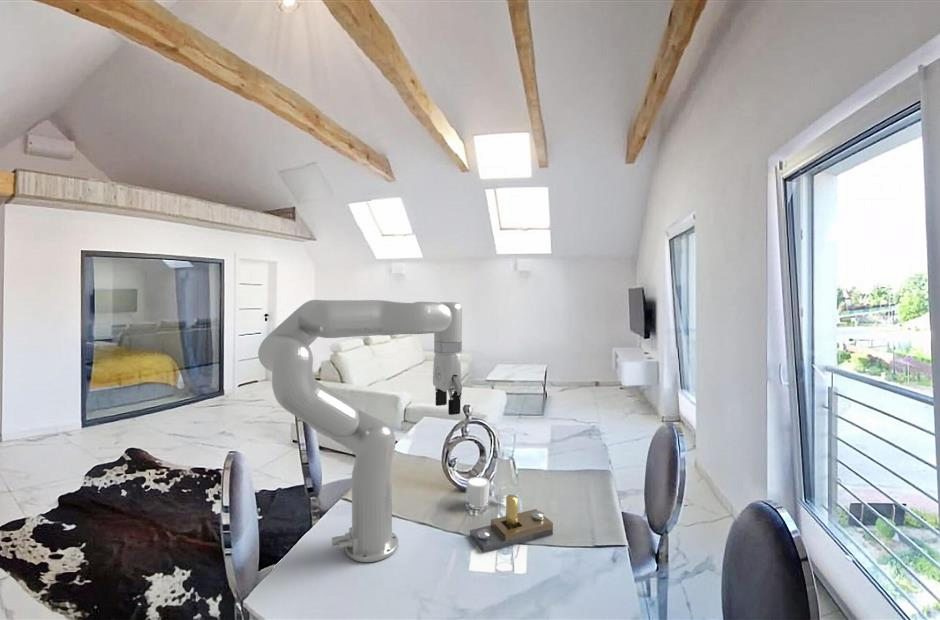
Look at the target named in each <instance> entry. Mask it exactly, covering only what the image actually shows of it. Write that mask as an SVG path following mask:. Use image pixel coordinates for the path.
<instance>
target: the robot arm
mask: <svg viewBox="0 0 940 620" xmlns="http://www.w3.org/2000/svg"><path fill="white" fill-rule="evenodd" d="M462 332H463V307H462V305H461V303H459V302H454V301H453V302H451V301H442V302H436V301H435V302H434V301H414V302H400V301H398V302H396V301H390V300H381V299H380V300H378V299H367V300H366V299H364V300H363V299H360V300H359V299H358V300H355V299H354V300H348V299H347V300H346V299H345V300H338V299H337V300H336V299H335V300H334V299H333V300H332V299H330V300H329V299H327V300H326V299H312V300H308V301H306V302H304V303H303V304H302V305H300V306H299V307H297V309H296V310H294V311H293V312H292V313H291V314H290V315H289V316H288V317H287V318H286V319H285V320H283V321H282V322H281V323H280V324H279V325H277V327H275V328H274V329H273V330H272V331H271V332H270V333H269V334H268V335H267V336H266V337H265V338H264V339H263V340H262V342H261V343H260V345H259V347H258V353H257V355H258V356H257V357H258V360H259V362H260V364H261V365H262V366H263V367H264V368H265V369H266V370H268V371H270V372H272V373H271V375H272V376H271V387H272V391H273V395H274V397H275V399H276V401H277V403H278V404H279V405H280V407H282V408H283V409H284V410H286V411H287V412H288V413H290V414H291V415H293V416H295V418H297V419H299V420H301V421H303V422H304V423H305V424H307V425H308V426H309V427H310V428H312V429H313V430H315V431H316V432H317V433H318V434H321V435H323V436H325V437H327V438H329V439H331V440H332V441H334V442H336V443H337V444H340V445H341V446H343V447H345V448H346V449H348V450H349V451H351V452H352V453H353V454H354V455H355V461H354V465H353V468H352V470H351V471H352V473H351V527H349V528H348V532H345V533H344V534H343V535H336V536H332V537H331V546H332V547H335V546H338V550H343V549H345V553H346V556H347V557H348V558H350V559H352V560H353V561H357V562H361V563H373V562H378V561H382V560H384V559H387V558H389V557H390V556H392V555H393V554H394V553H396V551H397V549H398V546H399V538H398V535H396V534H395V533H394V532H392V531H393V482H392V480H393V460H394V455H395V449H396V435H395V433H394V430H393V429H392V428H391V426H390V425H388V424H387V423H386V422H384V421H382V420H381V419H378V418H376V417H375V416H371V415H370V414H368V413H366V412H365V411H362V410H360V409H359V408H357V407H356V406H355V405H354V404H353V402H351V401H350V400H349V399H347V398H345V397H344V396H342V395H340V394H338V393H336V392H334V391H332V389H331V390H330V389H329V388H328V387H326V386H325V385H324V384H322V383H321V382H320V381H319V380H317V379H316V377H315V376H314V372H313V371H314V370H313V366H314V365H313V364H314V363H313V362H314V356H313V352H312V349H311V348H310V346H311V345H312V344H313V343H314V342H315V341H316V339H317V338H323V339H338V338H351V337H352V338H354V337H370V336H372V337H373V336H376V337H377V336H395V335H399V336H400V335H423V334H424V335H426V334H433V340H434V341H433V353H434V356H433V357H434V358H433V368H432V369H433V370H432V374H433V375H432V384H433V386H434V388H435V406H437V407H439V406H446V405H448V408H447V409H448V412H447V413H448V415H450V416H453V415H460V414H461V400H462V390H463V383H462V366H461V365H462V363H461V354H462V352H463V350H462V349H463V348H462V347H463V333H462ZM447 395H448V396H449V399H448V398H447V397H448V396H447ZM447 403H448V404H447Z"/></svg>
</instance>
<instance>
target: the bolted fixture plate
mask: <svg viewBox="0 0 940 620" xmlns="http://www.w3.org/2000/svg"><path fill="white" fill-rule="evenodd" d="M553 531H554V522H553V521H551V520H550V519H549V518H548V517H546V516H545V513H544V512H543V511H541V510H538V509H536V508H535V509H531V510H526V511H522V512H518V527H517V528H513V529H509V530H508V529H507V528H506V515H504V516H501V517H497V518H496V517H495V518H492V519H490V525H486V526H481V527H477V528H473V529H469V537H470V538H471V539H472V540H473V542H474V543H475V544H476V545H477V547H478V548H479V549H480V550H481V552H483V554H484V553H488V552H492V551H496V550H500V549H503V548H508V547H510V546H513V545H518V544H522V543H526V542H529V541H533V540H537V539H540V538H544V537H549V536H551V535H554V533H553Z"/></svg>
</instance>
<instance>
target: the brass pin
mask: <svg viewBox="0 0 940 620" xmlns="http://www.w3.org/2000/svg"><path fill="white" fill-rule="evenodd" d="M505 500H506V501H505V512H506V513H505V516H506V528H507V529H508V530H509V529H513V528H517V527H518V513H519V497H518V496H517V495H515V494H508V495H506V499H505Z"/></svg>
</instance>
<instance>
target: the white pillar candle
mask: <svg viewBox="0 0 940 620" xmlns="http://www.w3.org/2000/svg"><path fill="white" fill-rule="evenodd" d="M490 485H491V483H490V480H489V479H487V478H485V477H482V476H481V477H480V476H474V477H470V478H468V479H467V480H466V492H467V493H466V494H467V502H469V503H470V504H472V505H474V506H476V507H483V506H486V505H487V506H488V504H489V502H488V501H489V493H490V492H489V491H490ZM487 503H488V504H487Z"/></svg>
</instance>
